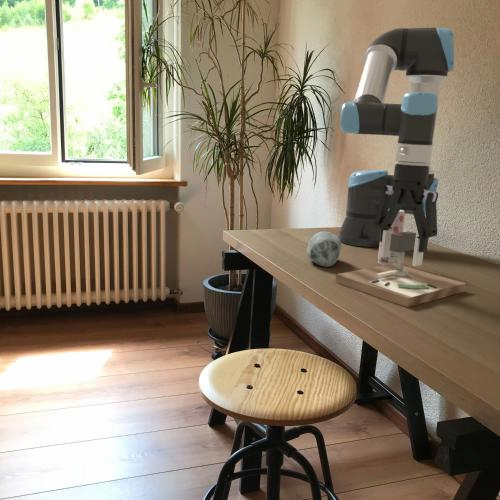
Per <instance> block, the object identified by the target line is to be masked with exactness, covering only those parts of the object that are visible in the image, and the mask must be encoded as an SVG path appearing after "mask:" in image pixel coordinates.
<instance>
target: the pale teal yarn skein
mask: <svg viewBox="0 0 500 500" xmlns="http://www.w3.org/2000/svg"><path fill="white" fill-rule="evenodd" d="M341 249H342V242H341V241H340V239H339V238H338V235H336V234H334V233H333V232H330V231H319V232H317V233H315V234H313V236H312V237H311V238H310V240H309V242H308V244H307V248H306V254H307V256H308V257H309V259H310V260H311V261H312V262H313V263H315V264H317V265H318V266H321V267H324V268H327V267H328V268H329V267H332V266H334V264H335V263H336V262H337V261H338V259H339V258H340V253H341Z"/></svg>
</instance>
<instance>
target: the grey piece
mask: <svg viewBox="0 0 500 500" xmlns="http://www.w3.org/2000/svg"><path fill="white" fill-rule="evenodd" d="M415 238H417V233H416V232H413V231H403V232H400V233H393V234H391V243H390V251H393V252H399V253H398V261H397V268H393V269H391V271H387V272H382V273H377V274H376V276H377V277H382V276H387V275H393V276H397V277H407V276H408V271H407V270H405V269H403V266H404V262H405V254H406V252H408V251H414V246H415Z"/></svg>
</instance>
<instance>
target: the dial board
mask: <svg viewBox="0 0 500 500" xmlns="http://www.w3.org/2000/svg"><path fill="white" fill-rule="evenodd" d="M393 268H397V264H396V263H393V264H388V265H383V266H382V265H379V266H373V267H368V268H363V269H357V270H352V271H346V272H342V273H341V272H339V273H337V274H336V276H335V283H336V284H339V285H342V286H345V287H347V288H351V289H354V290H356V291H359V292H363V293H366V294H368V295H370V296H373V297H377V298H379V299H381V300H385V301H388V302H390V303H394V304H395V305H400V306H401V307H404V308H409V307H414V306H417V305H421V304H425V303H429V302H432V301H435V300H439V299H442V298H446V297H450V296H453V295H458V294H460V293H464V292H466V287H467V286H466V285H467V283H466V282H463V281H459V280H456V279H453V278H448V277H445V276H442V275H438V274H435V273H431V272H427V271H423V270H421V269H416V268H413V267H410V266H406V265H403V269H405V270H407V271H408V276H407V277H397V276H393V275H387V276H382V277H377V276H376V274H377V273H382V272H387V271H391V269H393Z"/></svg>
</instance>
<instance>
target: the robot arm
mask: <svg viewBox="0 0 500 500" xmlns="http://www.w3.org/2000/svg"><path fill="white" fill-rule="evenodd" d="M362 65H363V70H362V73H361V76H360V80H359V84H358V86H357V90H356V94H355V96H354V99H353V101H348V102H347V101H346V102H344V103H343V104H342V106H341V109H340V119H339V120H340V121H339V123H340V124H339V125H340V130H341V131H342V133H346V134H353V135H372V136H373V135H375V136H377V135H378V136H389V137H390V136H391V137H398V139H397V147H396V154H395V161H396V162H397V163H395V164H394V171H393V174H389V172H388V170H387V169H373V170H372V169H371V170H370V169H369V170H359V171H354V172H352V173H351V174H350V176H349V180H348V185H347V188H348V189H347V201H346V211H345V218H344V220H343V222H342V225H341V227H340V230H339V232H338V235H337V237H338V238H339V239H340V241H341V244H345V245H350V246H355V247H356V246H357V247H365V248H367V247H368V248H377V247H378V248H379V244H380V242H382V248H381V257H389V256H390V252H391V251H390V243H391V234H393V230H389V229H391V228H392V227H391V226H392V224H393V222H394V220H395V218H396V216H397V214H398V213H399V211H400V210H404V214H405V215H412V216H413V218H414V222H415V227H416V229H417V230H416V231H417V233H418V236H416V238H415V246H414V250H413V254H412V255H413V256H412V263H411V266H412V267H417V266H418V267H419V266H422V265H423V258H424V253H426V252H427V250H428V242H429V239H430V238H433V237H436V236H438V218H437V216H438V214H437V210H438V209H437V201H438V198H439V193H438V191H437V190H438V189H437V188H438V185H439V179H438V178H437V177H435V171H434V170H433V168H432V167H431V162H432V161H431V160H432V155H433V153H432V152H433V148H434V147H433V145H434V138H435V130H436V125H437V124H436V123H437V115H438V107H439V100H440V91H441V85H442V83H443V82H444V81H445V80H447V79H448V73H451V72H453V71H454V68H455V36H454V31H453V30H452V29H451V28H445V27H438V26H437V27H412V28H411V27H409V28H408V27H405V28H404V27H398V28H393V29H390V30H388V31H386V32H384V33H382V34H381V35H379V36H377V37H376V38H375V39H374V40H373V41H372V42H371V43H370V44H369V45H368V47H367V48H366V50H365V52H364V55H363V59H362ZM394 71H399V72H400V71H406V72H405V78H406V79H407V81H408V82H409V89H408V91H409V92H406V93H404V95H403V97H402V103H385V102H386V101H385V100H386V97H387V96H386V95H387V91H388V88H389V83H390V77H391V74H392V73H393V72H394ZM388 210H389V211H388Z"/></svg>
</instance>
